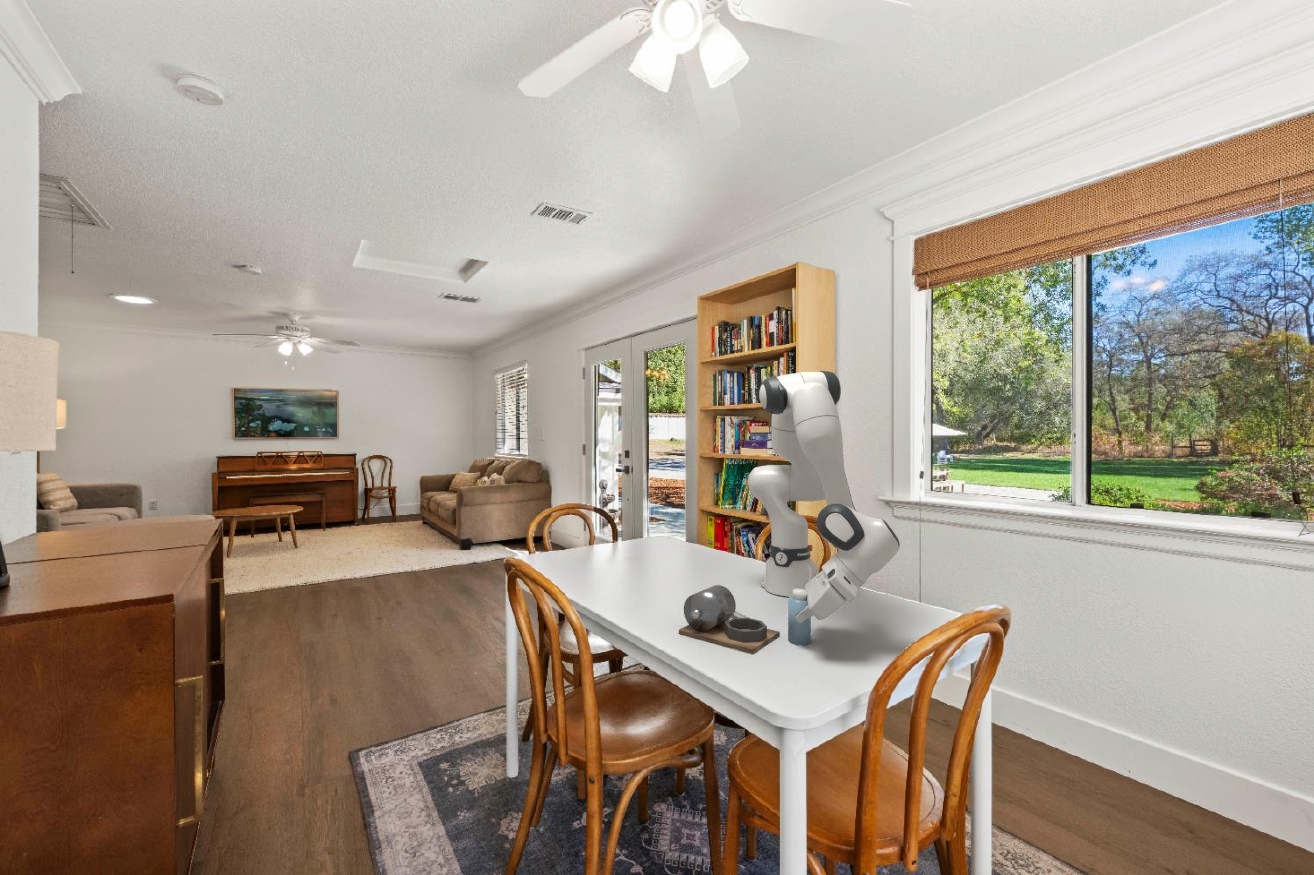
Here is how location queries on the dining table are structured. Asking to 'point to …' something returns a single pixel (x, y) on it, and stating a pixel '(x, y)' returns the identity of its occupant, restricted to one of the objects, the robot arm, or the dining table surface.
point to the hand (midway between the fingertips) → (796, 615)
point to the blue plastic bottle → (796, 630)
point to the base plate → (721, 638)
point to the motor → (709, 608)
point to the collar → (752, 635)
